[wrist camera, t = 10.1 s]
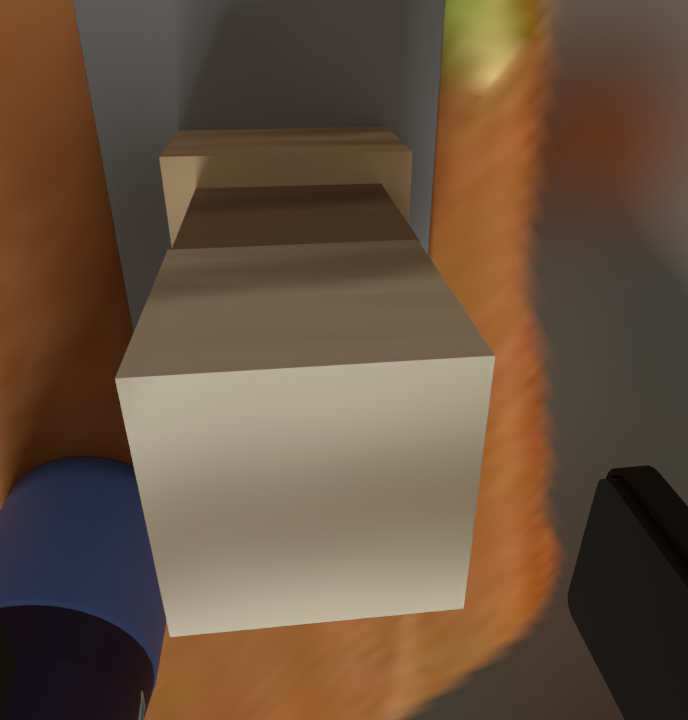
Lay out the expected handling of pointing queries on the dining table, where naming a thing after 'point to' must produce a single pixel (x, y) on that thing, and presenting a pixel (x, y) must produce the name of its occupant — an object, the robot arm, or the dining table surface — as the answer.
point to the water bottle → (79, 593)
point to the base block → (282, 162)
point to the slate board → (249, 91)
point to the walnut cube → (290, 216)
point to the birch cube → (305, 434)
